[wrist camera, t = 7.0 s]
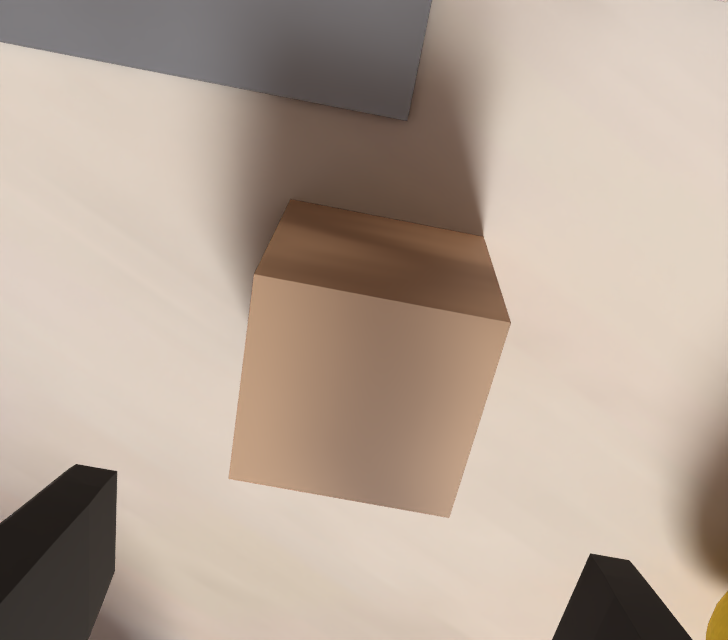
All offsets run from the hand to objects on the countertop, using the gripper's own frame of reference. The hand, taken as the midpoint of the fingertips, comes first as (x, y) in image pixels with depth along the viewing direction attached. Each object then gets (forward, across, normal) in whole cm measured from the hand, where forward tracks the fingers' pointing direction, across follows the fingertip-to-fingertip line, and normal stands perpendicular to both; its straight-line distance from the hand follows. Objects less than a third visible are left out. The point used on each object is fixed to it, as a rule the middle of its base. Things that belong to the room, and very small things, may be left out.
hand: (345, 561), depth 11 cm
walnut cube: (+9, 0, 0) cm, 9 cm away
